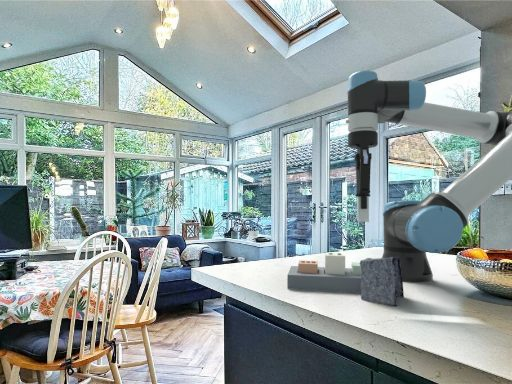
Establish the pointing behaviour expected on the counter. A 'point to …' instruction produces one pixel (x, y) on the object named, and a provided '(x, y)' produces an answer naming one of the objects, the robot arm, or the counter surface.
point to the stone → (381, 280)
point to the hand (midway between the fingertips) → (363, 221)
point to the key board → (324, 281)
